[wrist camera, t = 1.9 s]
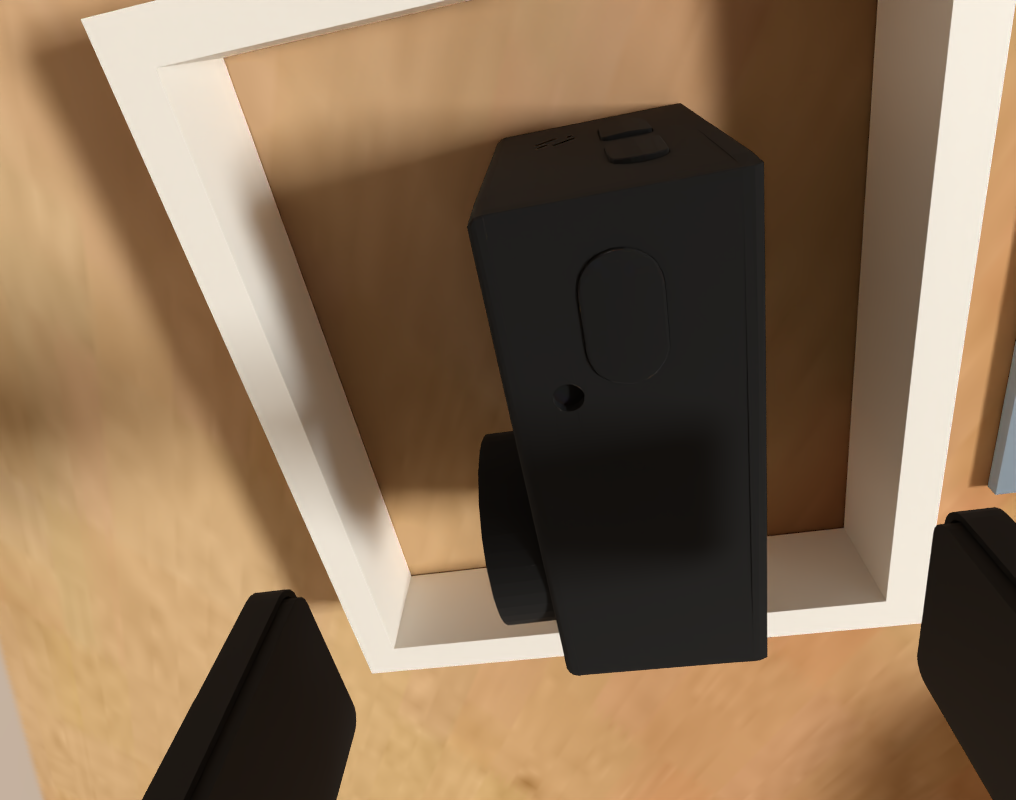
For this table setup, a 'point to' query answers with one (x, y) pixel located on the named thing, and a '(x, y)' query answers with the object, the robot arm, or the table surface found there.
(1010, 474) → the rubber mat
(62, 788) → the table surface
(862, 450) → the open frame
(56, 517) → the table surface
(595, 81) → the table surface
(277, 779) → the robot arm
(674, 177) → the digital camera
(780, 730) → the table surface
